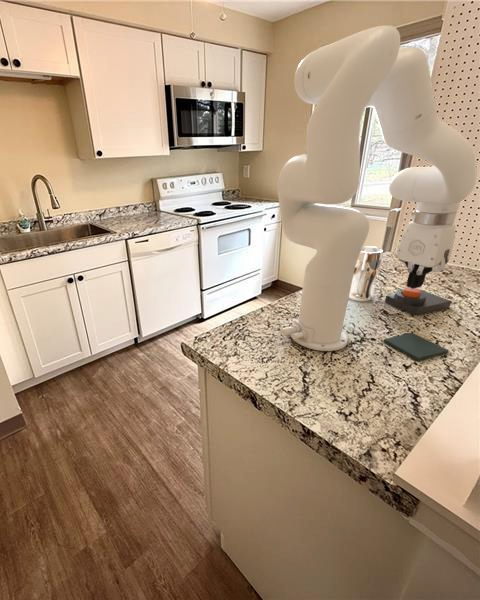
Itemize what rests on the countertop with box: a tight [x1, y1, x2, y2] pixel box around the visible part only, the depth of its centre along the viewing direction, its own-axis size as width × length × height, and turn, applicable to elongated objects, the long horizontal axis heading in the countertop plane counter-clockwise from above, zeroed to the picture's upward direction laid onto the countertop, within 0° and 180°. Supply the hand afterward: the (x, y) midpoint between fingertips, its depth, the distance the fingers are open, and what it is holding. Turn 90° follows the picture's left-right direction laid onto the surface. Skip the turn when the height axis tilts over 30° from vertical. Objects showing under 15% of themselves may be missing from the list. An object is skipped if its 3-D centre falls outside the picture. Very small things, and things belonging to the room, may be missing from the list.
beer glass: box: [349, 245, 384, 302], centre depth 91 cm, size 7×7×15 cm
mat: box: [383, 332, 449, 362], centre depth 70 cm, size 8×8×1 cm
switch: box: [402, 286, 422, 298], centre depth 84 cm, size 4×4×2 cm
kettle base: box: [384, 288, 452, 316], centre depth 86 cm, size 12×9×4 cm
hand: (413, 286), depth 83 cm, fingers closed
